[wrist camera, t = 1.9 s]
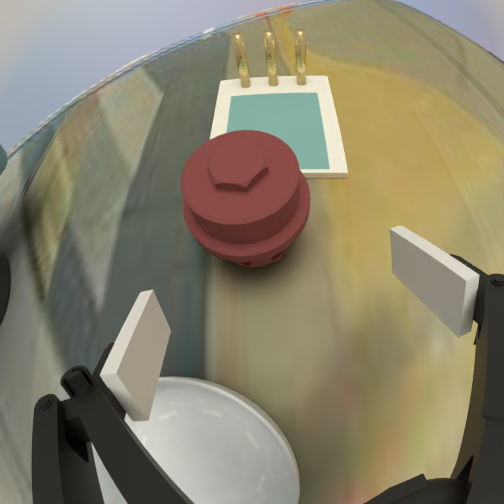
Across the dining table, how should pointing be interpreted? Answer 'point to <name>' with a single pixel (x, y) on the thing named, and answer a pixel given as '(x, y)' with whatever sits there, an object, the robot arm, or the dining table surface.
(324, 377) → the dining table surface
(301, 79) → the pin
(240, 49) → the pin
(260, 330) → the dining table surface
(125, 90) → the dining table surface
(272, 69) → the pin
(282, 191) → the mechanical component
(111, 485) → the cereal bowl
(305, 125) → the header board
